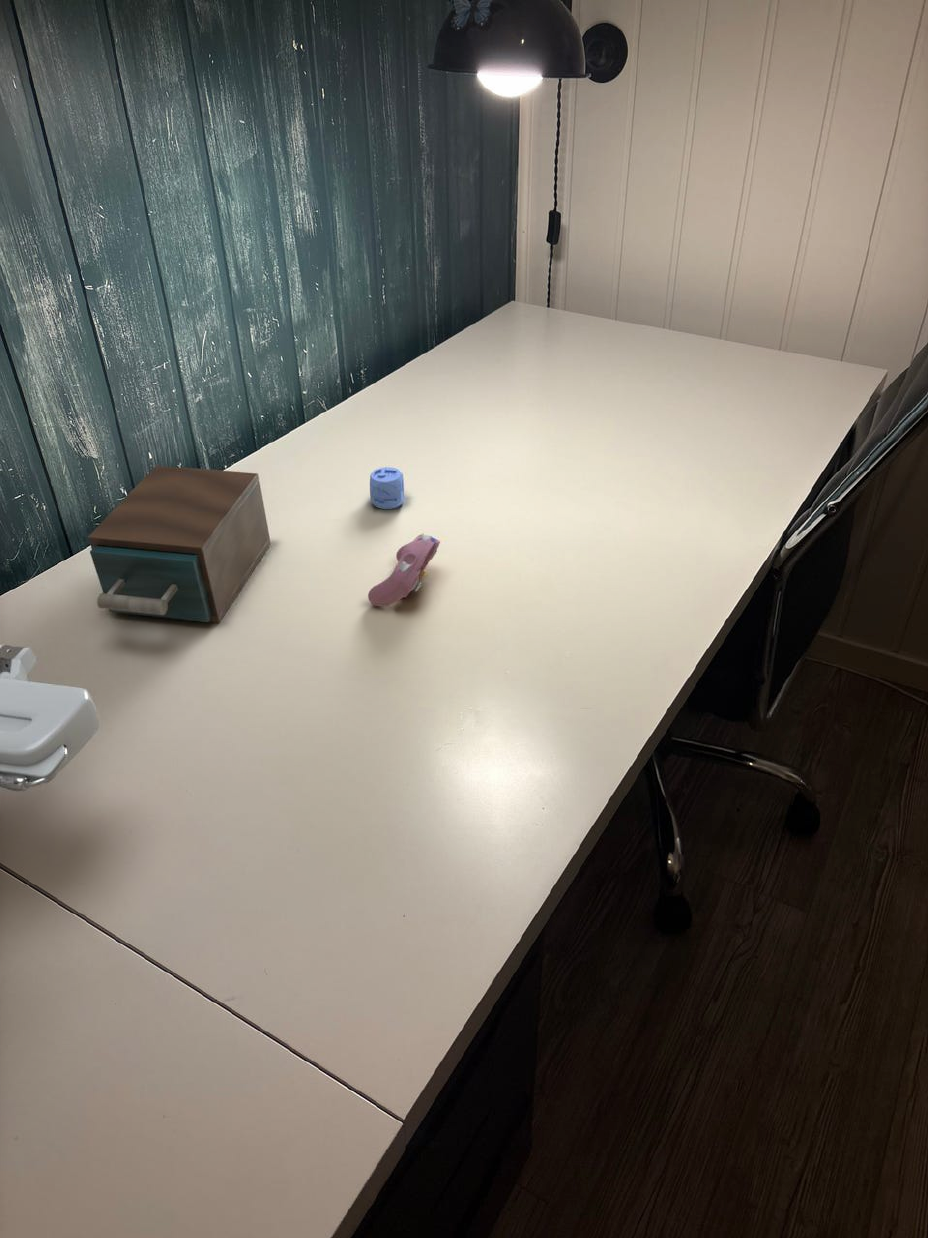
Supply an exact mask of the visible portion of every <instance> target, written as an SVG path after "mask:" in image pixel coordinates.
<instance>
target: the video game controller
mask: <svg viewBox="0 0 928 1238" xmlns="http://www.w3.org/2000/svg"><path fill="white" fill-rule="evenodd" d="M440 544H441V540H439V539H437V538H435V537H433V536H431V535H426V534H424V532H423V533H421V534H419V535H417V536H416V537H415V538H414V539H413V540H412V541H410V542H408V543H407V544H404V545H403V546H401V547H400V548H399V549H398V550H397V552H396V557H395V558H396V560H397V561H398V562H396V563H397V564H396V565H395V567H394V569H393V570H392V572H391V574H390V575H389V576H388V577H387V578H385V579H384V580H383V581H381V582H380V583H378V584H376V585H374V586H373V587H372V588H371V589H369V591H368V595H367V597H368V598H367V599H368V601H369V603H371V604H372V605H373V606H378V607H384V606H390V605H393V604H394V603H397V602H399V601H400V600H401V599H405V598H407V597H408V596H409V594H410V593H411V592H412V591H413V590H414V592H417V591H419V590H420V588H421V587H422V581H419V579H420V578H421V579H423V578H424V577H425V576H426V571H425V569H426V568H427V566H428V564H429V563H430V561H433V559H434V557H435V556H436V553H437V552H438V548H439V545H440Z"/></svg>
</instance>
